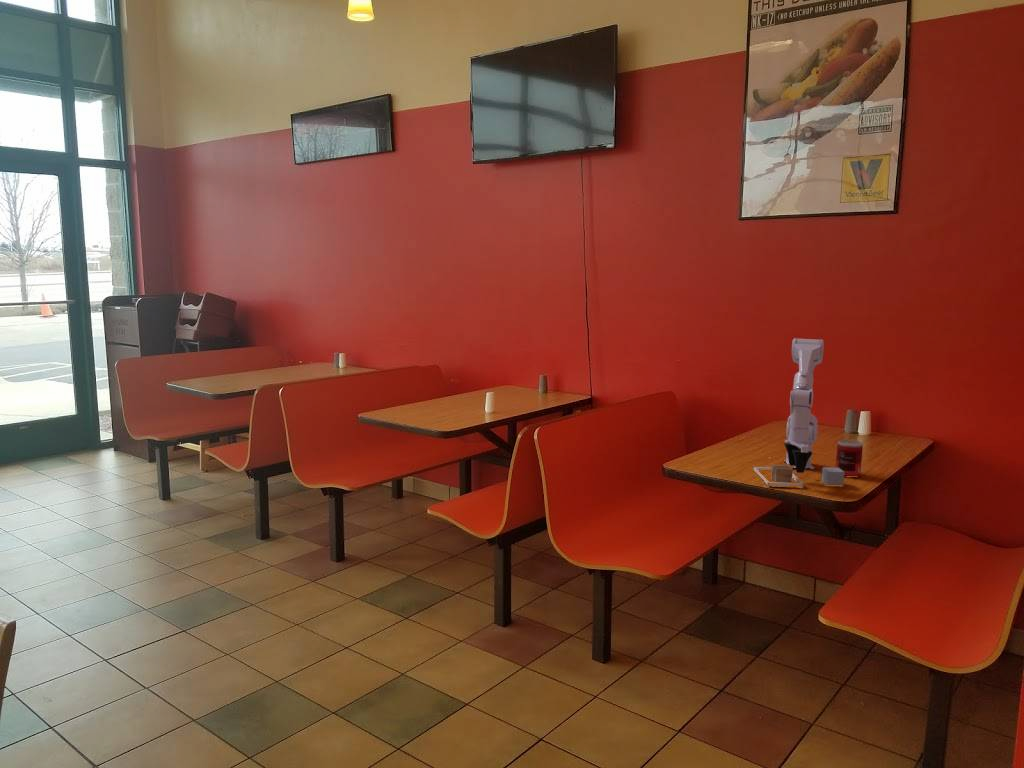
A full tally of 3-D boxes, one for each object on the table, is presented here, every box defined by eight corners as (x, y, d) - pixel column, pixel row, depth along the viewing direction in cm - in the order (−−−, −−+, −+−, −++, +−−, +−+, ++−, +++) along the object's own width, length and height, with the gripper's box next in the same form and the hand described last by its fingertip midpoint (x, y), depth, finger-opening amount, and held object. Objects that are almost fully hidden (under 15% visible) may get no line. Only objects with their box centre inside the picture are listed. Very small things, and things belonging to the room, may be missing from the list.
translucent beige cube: (771, 479, 249) (772, 464, 248) (787, 480, 249) (788, 464, 248) (775, 484, 244) (776, 468, 244) (791, 484, 244) (792, 469, 243)
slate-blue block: (821, 482, 248) (822, 467, 248) (837, 482, 248) (838, 467, 247) (826, 487, 243) (828, 471, 243) (843, 487, 243) (844, 472, 242)
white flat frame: (753, 471, 260) (753, 466, 260) (786, 472, 259) (787, 467, 259) (767, 487, 242) (767, 482, 242) (803, 488, 241) (803, 483, 241)
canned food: (853, 471, 261) (856, 439, 259) (864, 478, 253) (867, 445, 251) (830, 471, 261) (833, 439, 259) (841, 478, 253) (844, 445, 251)
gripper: (780, 421, 251) (777, 462, 253) (792, 432, 237) (789, 475, 239) (802, 422, 250) (799, 462, 253) (816, 432, 236) (813, 475, 238)
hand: (796, 469), depth 246 cm, fingers open, 7 cm apart
